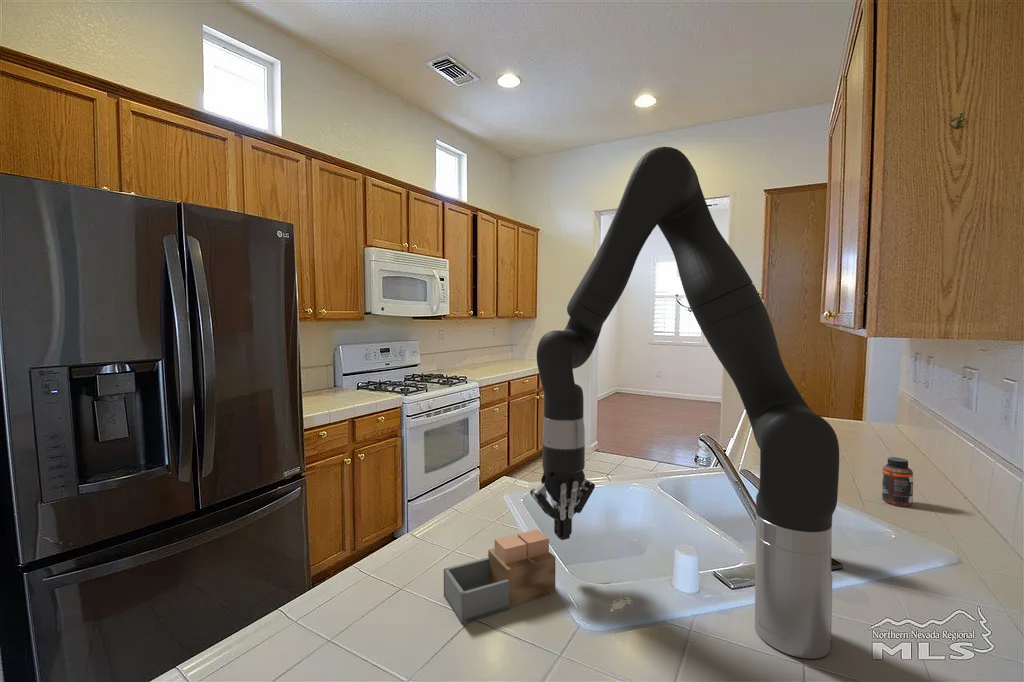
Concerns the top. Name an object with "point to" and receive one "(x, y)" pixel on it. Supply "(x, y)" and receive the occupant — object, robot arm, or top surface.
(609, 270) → the robot arm
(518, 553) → the tile
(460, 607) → the tray
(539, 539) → the tile
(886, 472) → the supplement bottle
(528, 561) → the brown block
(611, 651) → the top surface
